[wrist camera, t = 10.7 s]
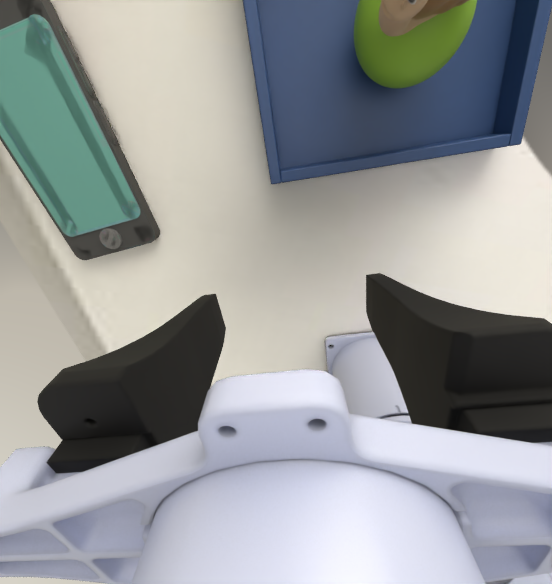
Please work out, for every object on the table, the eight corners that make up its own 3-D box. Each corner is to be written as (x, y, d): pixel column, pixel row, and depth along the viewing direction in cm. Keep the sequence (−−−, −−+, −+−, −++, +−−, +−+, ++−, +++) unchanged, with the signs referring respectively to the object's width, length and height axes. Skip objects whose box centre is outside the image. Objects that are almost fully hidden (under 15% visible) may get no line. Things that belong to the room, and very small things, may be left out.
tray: (554, -166, 13) (603, -222, 11) (496, 144, 19) (521, 144, 17) (233, -82, 15) (224, -117, 13) (272, 180, 21) (271, 184, 19)
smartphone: (77, 262, 23) (-76, 27, 16) (87, 257, 24) (-53, 34, 17) (159, 240, 22) (32, -22, 15) (165, 235, 23) (49, -11, 16)
